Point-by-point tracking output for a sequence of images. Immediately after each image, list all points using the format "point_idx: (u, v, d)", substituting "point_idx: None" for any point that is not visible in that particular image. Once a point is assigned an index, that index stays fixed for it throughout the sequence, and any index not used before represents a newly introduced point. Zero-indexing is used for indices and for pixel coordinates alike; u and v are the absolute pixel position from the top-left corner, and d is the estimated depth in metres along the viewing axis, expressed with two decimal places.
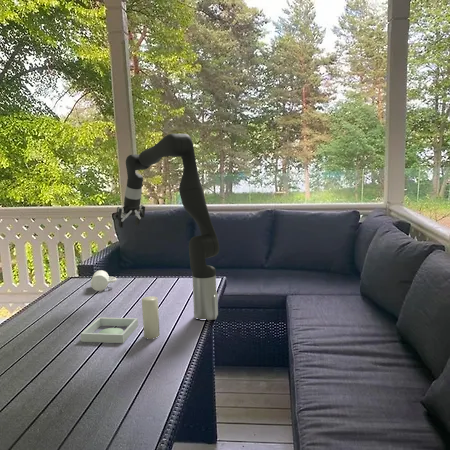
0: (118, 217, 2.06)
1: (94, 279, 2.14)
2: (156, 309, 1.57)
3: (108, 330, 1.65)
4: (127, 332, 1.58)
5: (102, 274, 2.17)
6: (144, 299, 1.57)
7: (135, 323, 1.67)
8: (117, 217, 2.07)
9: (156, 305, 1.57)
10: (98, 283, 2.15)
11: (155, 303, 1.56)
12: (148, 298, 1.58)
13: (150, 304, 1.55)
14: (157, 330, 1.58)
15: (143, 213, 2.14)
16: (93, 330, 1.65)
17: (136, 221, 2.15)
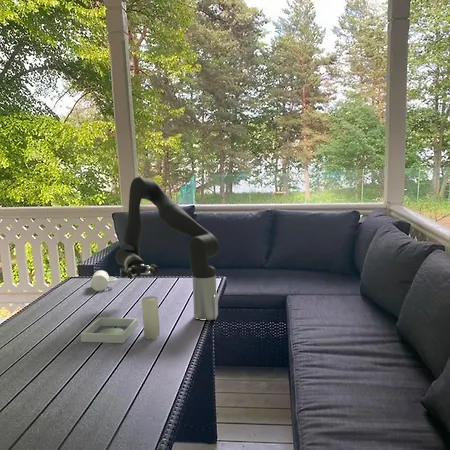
0: (121, 270, 1.70)
1: (94, 279, 2.14)
2: (156, 309, 1.57)
3: (108, 330, 1.65)
4: (127, 332, 1.58)
5: (102, 274, 2.17)
6: (144, 299, 1.57)
7: (135, 323, 1.67)
8: None
9: (156, 305, 1.57)
10: (98, 283, 2.15)
11: (155, 303, 1.56)
12: (148, 298, 1.58)
13: (150, 304, 1.55)
14: (157, 330, 1.58)
15: (155, 266, 1.75)
16: (93, 330, 1.65)
17: (151, 272, 1.70)
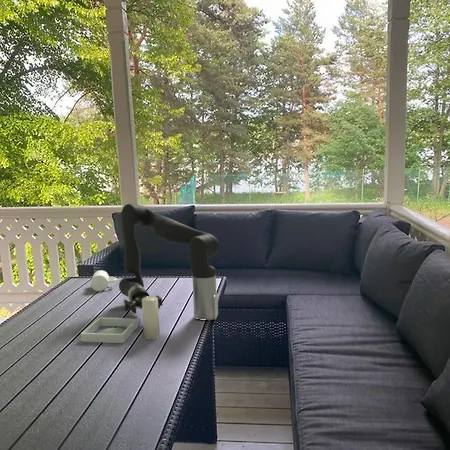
0: (125, 303, 1.68)
1: (94, 279, 2.14)
2: (156, 309, 1.57)
3: (108, 330, 1.65)
4: (127, 332, 1.58)
5: (102, 274, 2.17)
6: (144, 299, 1.57)
7: (135, 323, 1.67)
8: None
9: (156, 305, 1.57)
10: (98, 283, 2.15)
11: (155, 303, 1.56)
12: (148, 298, 1.58)
13: (150, 304, 1.55)
14: (157, 330, 1.58)
15: (159, 298, 1.73)
16: (93, 330, 1.65)
17: None
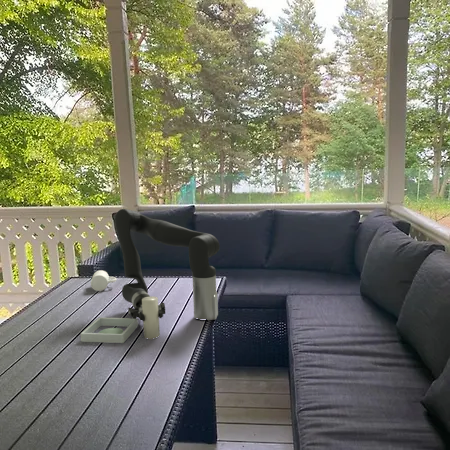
0: (131, 311, 1.59)
1: (94, 279, 2.14)
2: (156, 309, 1.57)
3: (108, 330, 1.65)
4: (127, 332, 1.58)
5: (102, 274, 2.17)
6: (144, 299, 1.57)
7: (135, 323, 1.67)
8: None
9: (156, 305, 1.57)
10: (98, 283, 2.15)
11: (155, 303, 1.56)
12: (148, 298, 1.58)
13: (150, 304, 1.55)
14: (157, 330, 1.58)
15: (163, 305, 1.64)
16: (93, 330, 1.65)
17: None
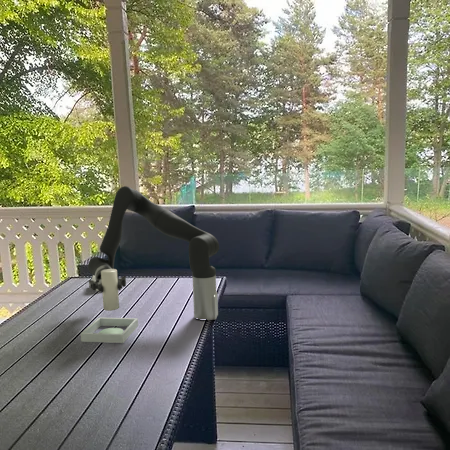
0: (91, 283, 1.61)
1: (94, 279, 2.14)
2: (115, 281, 1.59)
3: (108, 330, 1.65)
4: (127, 332, 1.58)
5: None
6: (103, 271, 1.59)
7: (135, 323, 1.67)
8: None
9: (115, 277, 1.59)
10: None
11: (114, 275, 1.58)
12: (107, 270, 1.60)
13: (109, 276, 1.57)
14: (116, 302, 1.60)
15: (123, 278, 1.66)
16: (93, 330, 1.65)
17: None
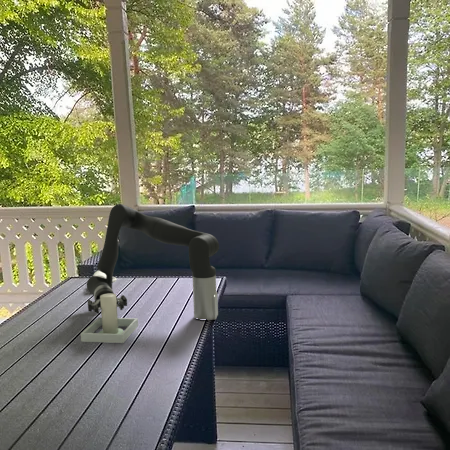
0: None
1: None
2: (114, 305, 1.60)
3: None
4: (127, 332, 1.58)
5: (102, 274, 2.17)
6: (102, 296, 1.61)
7: (135, 323, 1.67)
8: None
9: (114, 301, 1.60)
10: None
11: (113, 299, 1.60)
12: (106, 295, 1.62)
13: (108, 301, 1.59)
14: (115, 326, 1.62)
15: (124, 298, 1.68)
16: (93, 330, 1.65)
17: (119, 306, 1.63)
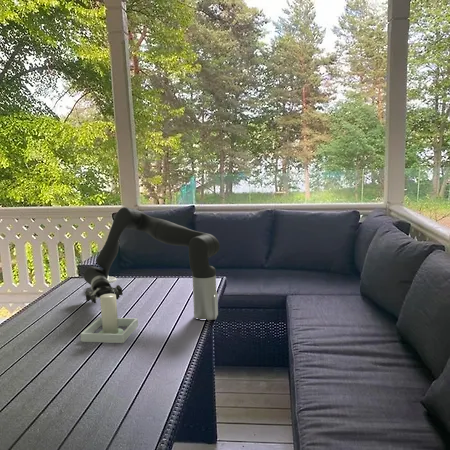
0: None
1: None
2: (114, 306, 1.60)
3: None
4: (127, 332, 1.58)
5: None
6: (102, 296, 1.61)
7: (135, 323, 1.67)
8: None
9: (114, 302, 1.60)
10: None
11: (113, 300, 1.60)
12: (106, 295, 1.62)
13: (108, 301, 1.59)
14: (115, 326, 1.61)
15: (119, 287, 1.80)
16: (93, 330, 1.65)
17: None
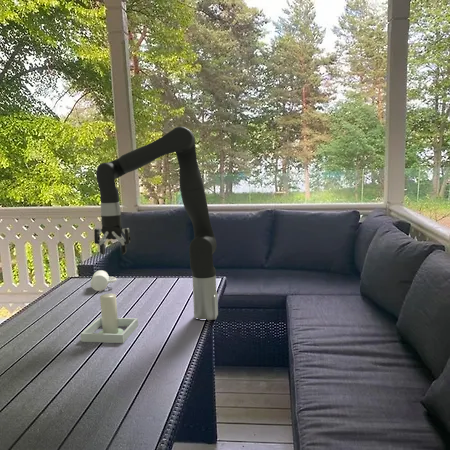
0: (94, 239, 1.75)
1: (94, 279, 2.14)
2: (114, 306, 1.60)
3: None
4: (127, 332, 1.58)
5: (102, 274, 2.17)
6: (102, 296, 1.61)
7: (135, 323, 1.67)
8: None
9: (114, 302, 1.60)
10: (98, 283, 2.15)
11: (113, 300, 1.60)
12: (107, 295, 1.62)
13: (108, 301, 1.59)
14: (115, 326, 1.61)
15: (126, 238, 1.73)
16: (93, 330, 1.65)
17: None
